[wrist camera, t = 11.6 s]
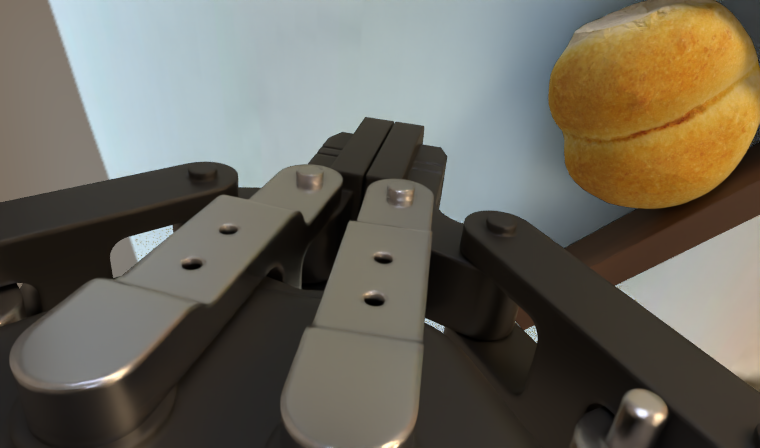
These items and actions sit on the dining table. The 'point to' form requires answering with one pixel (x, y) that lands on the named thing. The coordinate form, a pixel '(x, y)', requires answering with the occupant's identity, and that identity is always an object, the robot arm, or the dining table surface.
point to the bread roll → (656, 102)
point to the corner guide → (668, 228)
